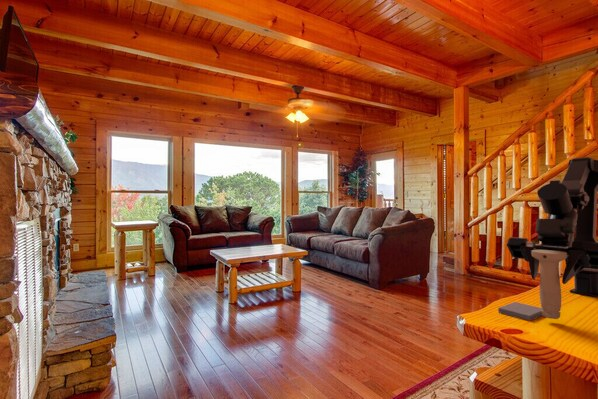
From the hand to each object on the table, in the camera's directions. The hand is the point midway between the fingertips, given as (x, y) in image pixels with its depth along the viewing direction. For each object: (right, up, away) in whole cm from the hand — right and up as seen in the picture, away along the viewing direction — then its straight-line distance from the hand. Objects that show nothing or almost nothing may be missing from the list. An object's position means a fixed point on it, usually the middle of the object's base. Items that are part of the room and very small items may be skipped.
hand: (547, 280), depth 74 cm
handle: (+1, -9, +1) cm, 9 cm away
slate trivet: (-1, -10, +7) cm, 12 cm away
